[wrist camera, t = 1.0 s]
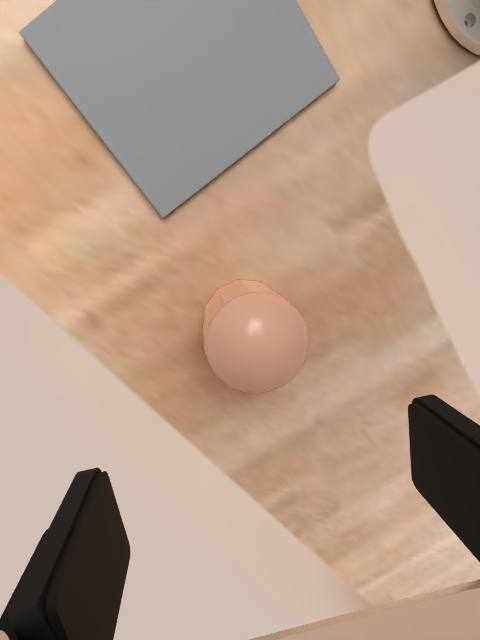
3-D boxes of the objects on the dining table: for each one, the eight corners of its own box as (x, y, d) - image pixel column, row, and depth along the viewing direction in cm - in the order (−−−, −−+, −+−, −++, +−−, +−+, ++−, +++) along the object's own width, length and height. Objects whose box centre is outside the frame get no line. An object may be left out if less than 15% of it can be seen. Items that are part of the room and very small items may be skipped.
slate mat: (219, -124, 22) (220, -137, 22) (335, 83, 26) (339, 79, 25) (24, 39, 23) (18, 32, 22) (163, 218, 27) (162, 218, 26)
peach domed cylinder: (290, 284, 29) (316, 298, 23) (279, 362, 31) (300, 395, 24) (207, 276, 28) (210, 288, 22) (200, 357, 30) (201, 390, 23)
